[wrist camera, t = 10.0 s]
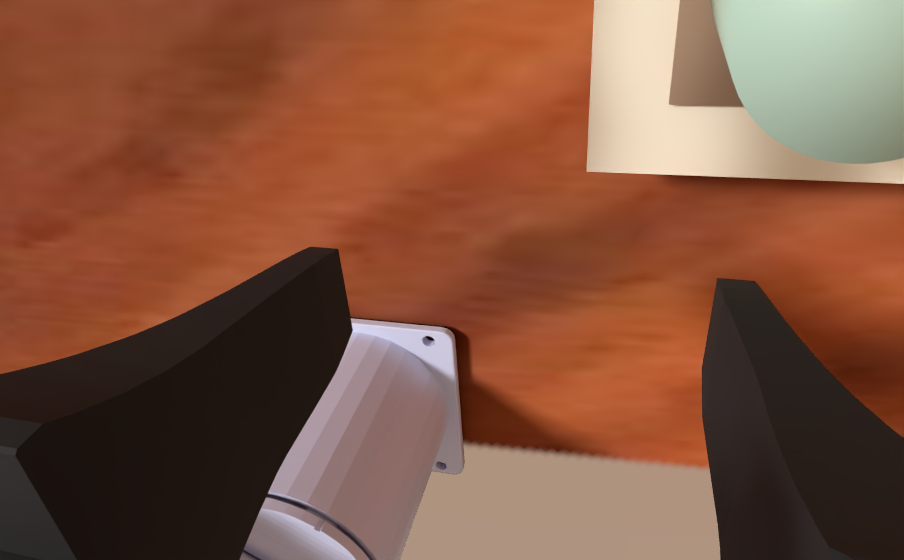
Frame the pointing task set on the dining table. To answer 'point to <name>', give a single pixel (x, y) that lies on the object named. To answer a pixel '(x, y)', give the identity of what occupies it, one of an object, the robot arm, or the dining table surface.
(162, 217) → the dining table surface
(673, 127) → the birch base
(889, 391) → the dining table surface
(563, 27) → the dining table surface
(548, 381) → the dining table surface
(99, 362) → the robot arm
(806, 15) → the pale green rounded cylinder
